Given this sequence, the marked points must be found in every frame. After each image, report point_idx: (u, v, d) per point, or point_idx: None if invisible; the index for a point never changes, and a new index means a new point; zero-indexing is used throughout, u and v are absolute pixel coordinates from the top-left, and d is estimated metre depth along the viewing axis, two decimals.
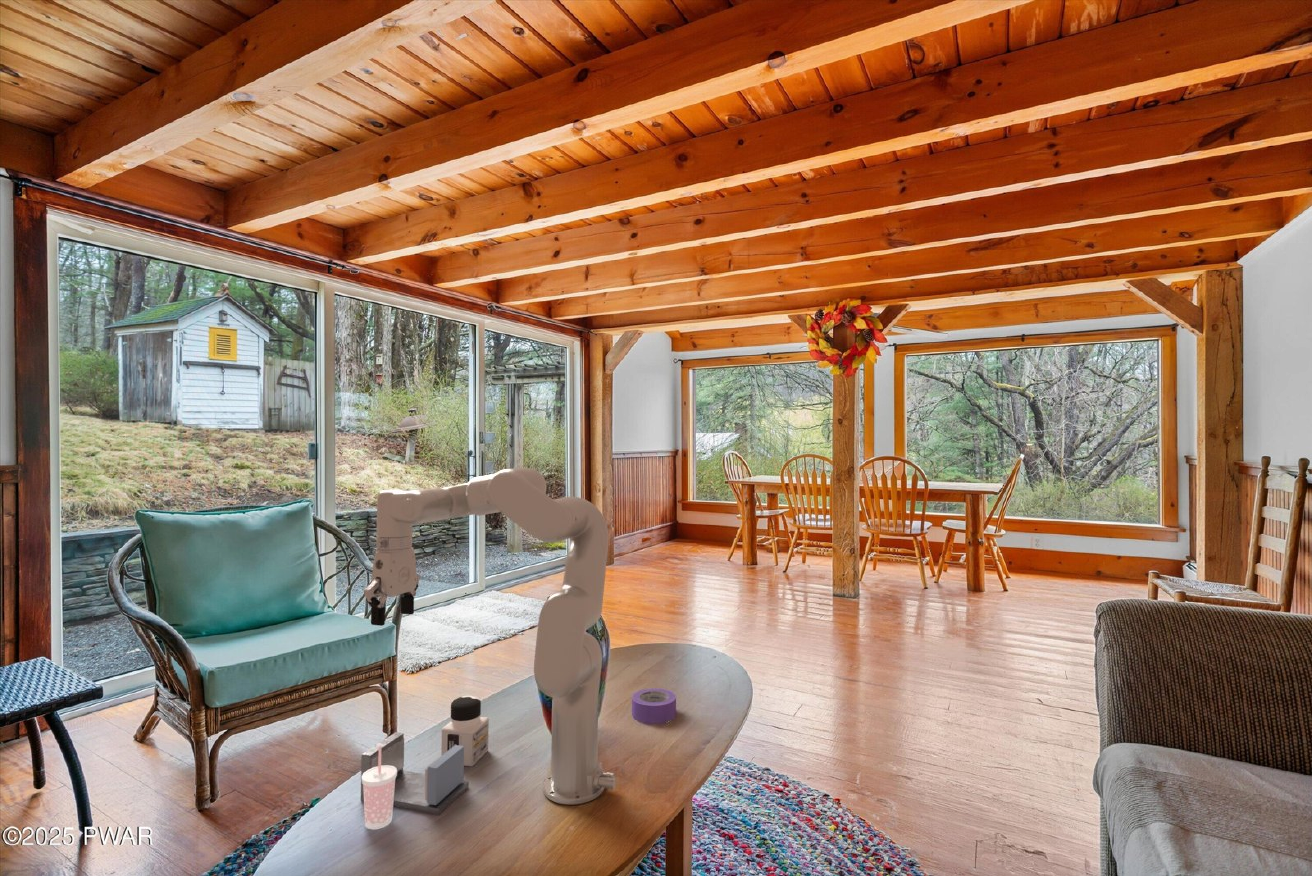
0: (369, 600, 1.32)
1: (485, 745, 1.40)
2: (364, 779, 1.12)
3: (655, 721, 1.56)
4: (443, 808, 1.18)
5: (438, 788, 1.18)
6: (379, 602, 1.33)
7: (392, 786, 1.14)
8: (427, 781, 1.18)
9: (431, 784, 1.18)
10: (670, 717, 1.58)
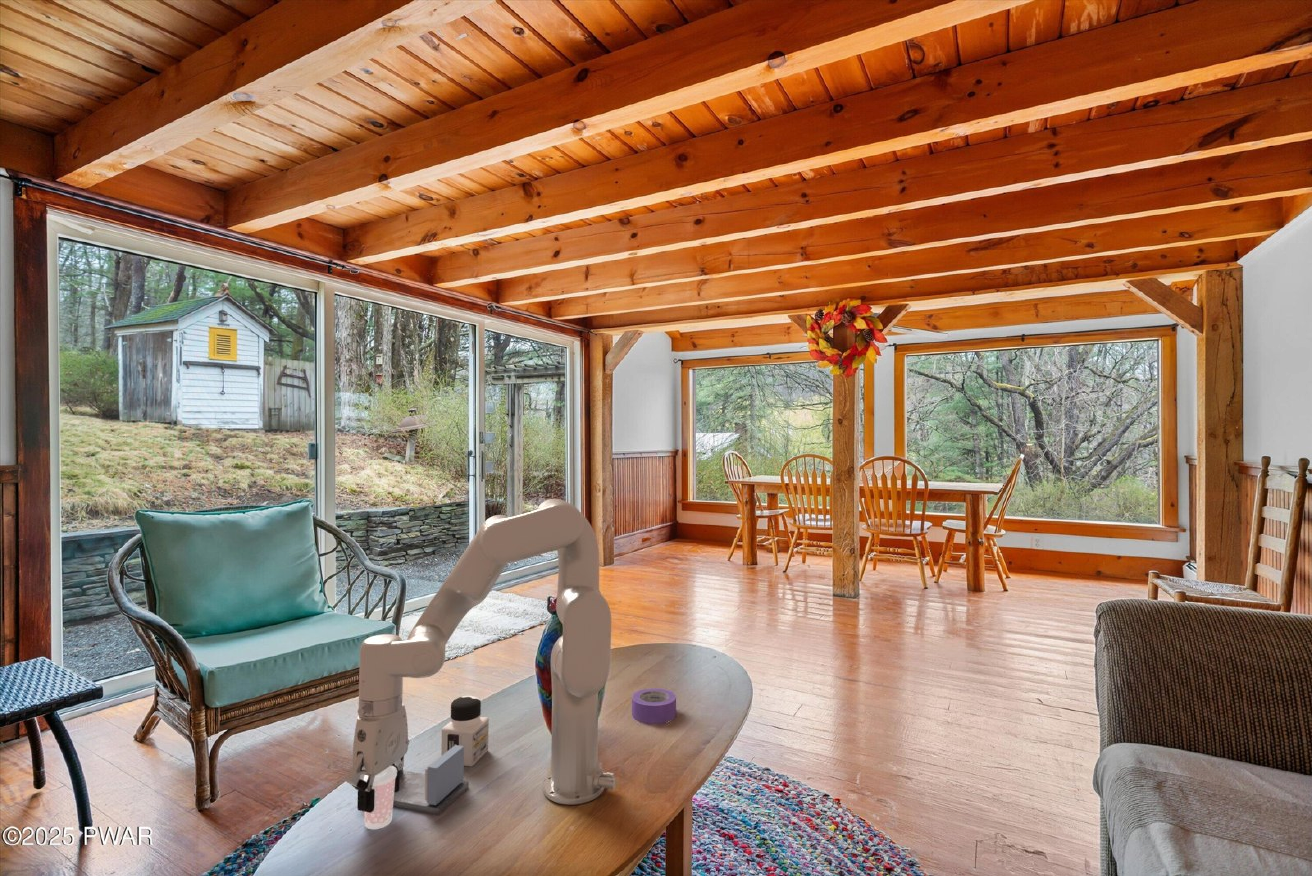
0: (355, 786, 1.09)
1: (485, 745, 1.40)
2: (364, 779, 1.13)
3: (655, 721, 1.56)
4: (443, 808, 1.18)
5: (438, 788, 1.18)
6: (367, 786, 1.10)
7: (392, 786, 1.14)
8: (427, 781, 1.18)
9: (431, 784, 1.18)
10: (670, 717, 1.58)
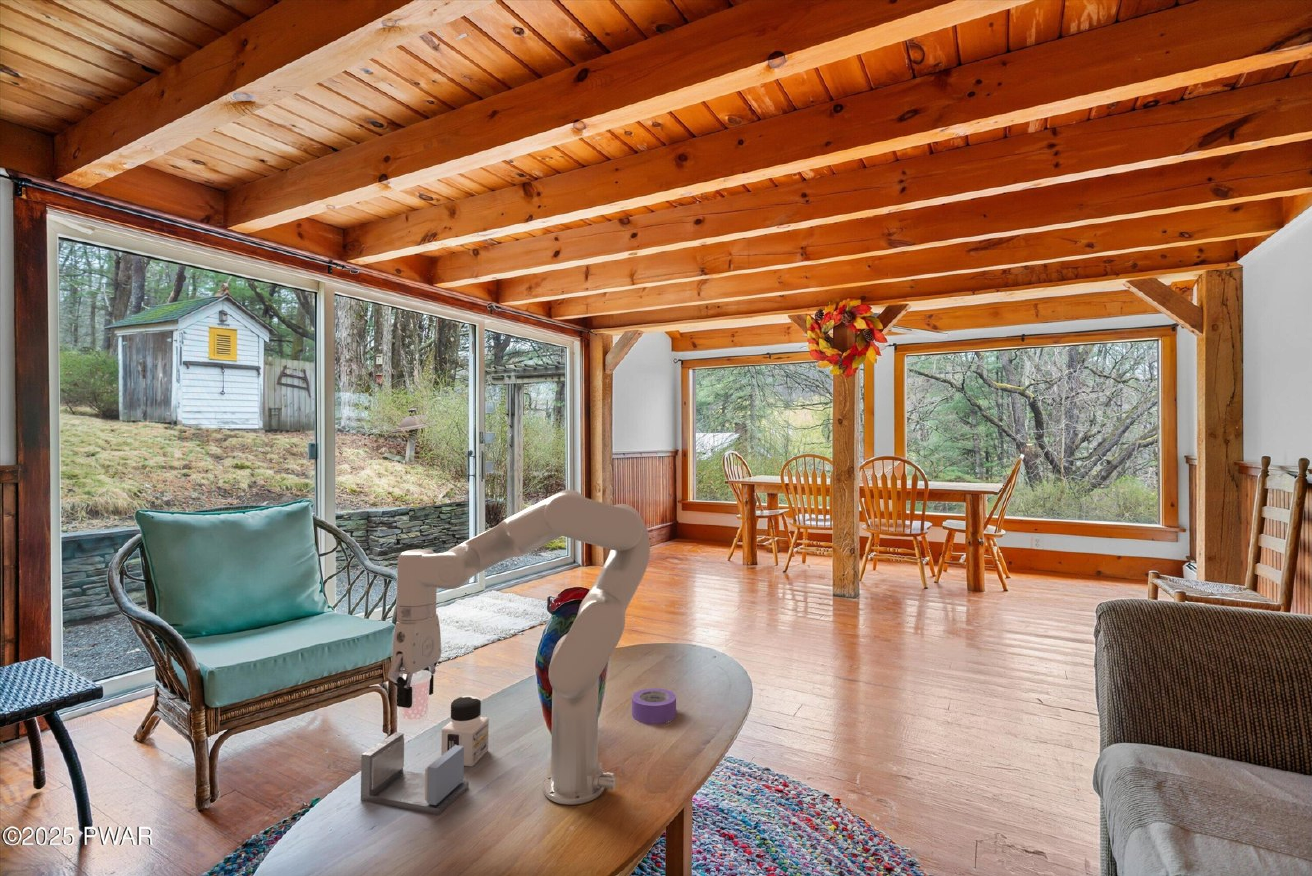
0: (395, 682, 1.19)
1: (485, 745, 1.40)
2: None
3: (655, 721, 1.56)
4: (443, 808, 1.18)
5: (438, 788, 1.18)
6: (406, 683, 1.20)
7: (427, 686, 1.24)
8: (427, 781, 1.18)
9: (431, 784, 1.18)
10: (670, 717, 1.58)
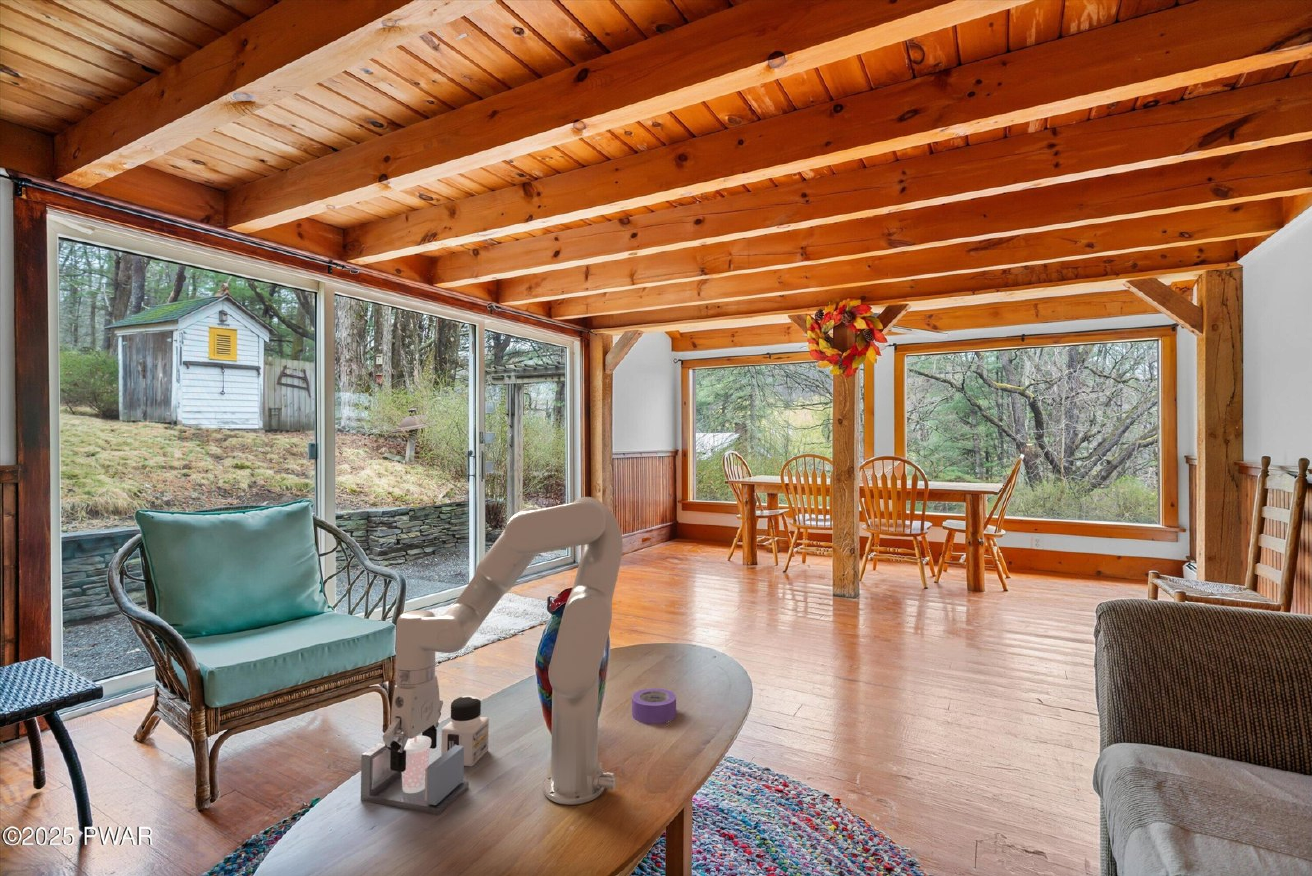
0: (389, 746, 1.17)
1: (485, 745, 1.40)
2: None
3: (655, 721, 1.56)
4: (443, 808, 1.18)
5: (438, 788, 1.18)
6: (400, 746, 1.18)
7: (427, 754, 1.24)
8: (427, 781, 1.18)
9: (431, 784, 1.18)
10: (670, 717, 1.58)
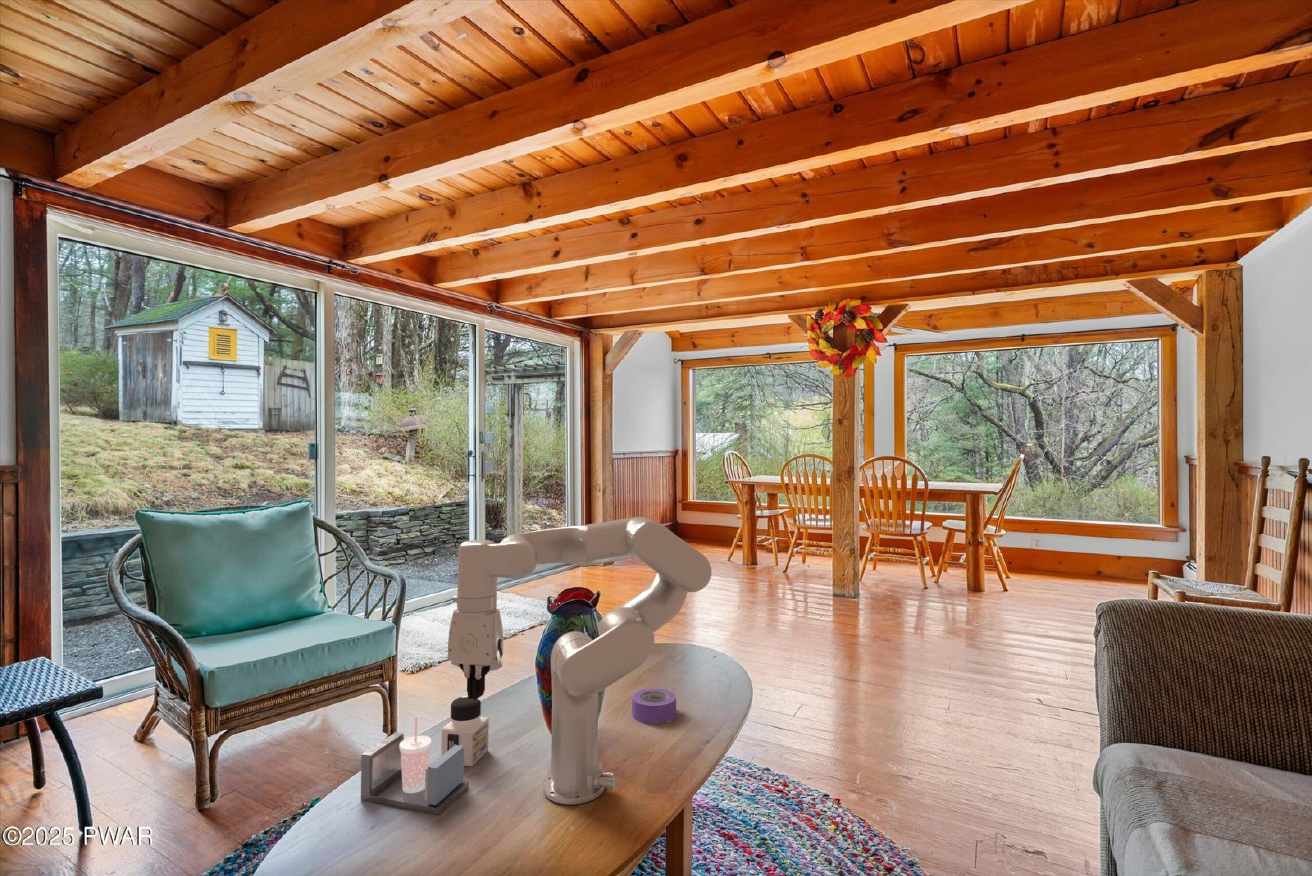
0: None
1: (485, 745, 1.40)
2: (402, 747, 1.22)
3: (655, 721, 1.56)
4: (443, 808, 1.18)
5: (438, 788, 1.18)
6: None
7: (427, 754, 1.24)
8: (427, 781, 1.18)
9: (431, 784, 1.18)
10: (670, 717, 1.58)
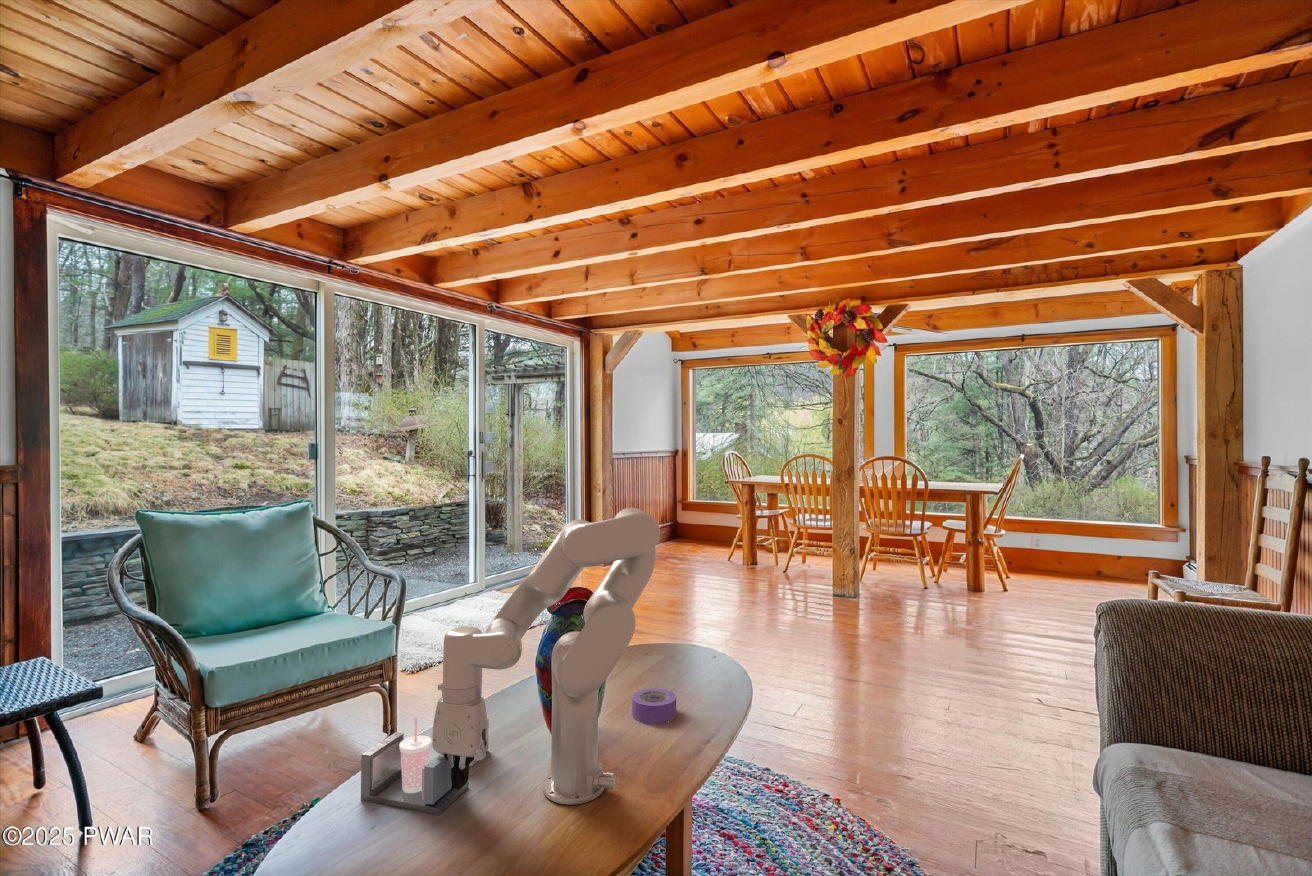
0: None
1: None
2: (402, 747, 1.22)
3: (655, 721, 1.56)
4: (443, 808, 1.18)
5: (434, 787, 1.18)
6: None
7: (427, 754, 1.24)
8: (424, 780, 1.18)
9: (427, 783, 1.18)
10: (670, 717, 1.58)
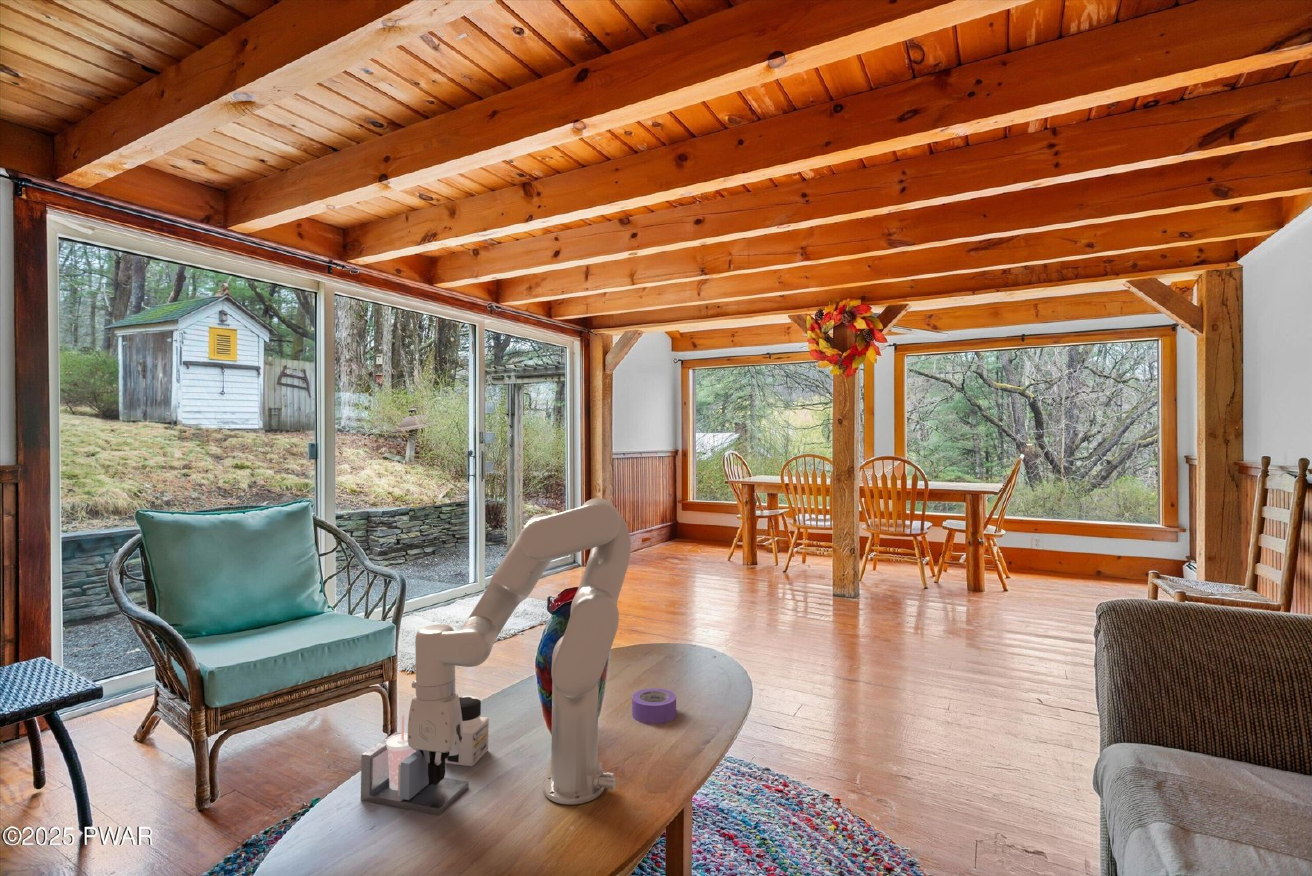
0: None
1: (485, 745, 1.40)
2: (388, 744, 1.23)
3: (655, 721, 1.56)
4: (443, 808, 1.18)
5: (411, 783, 1.20)
6: None
7: None
8: (400, 776, 1.20)
9: (404, 779, 1.19)
10: (670, 717, 1.58)
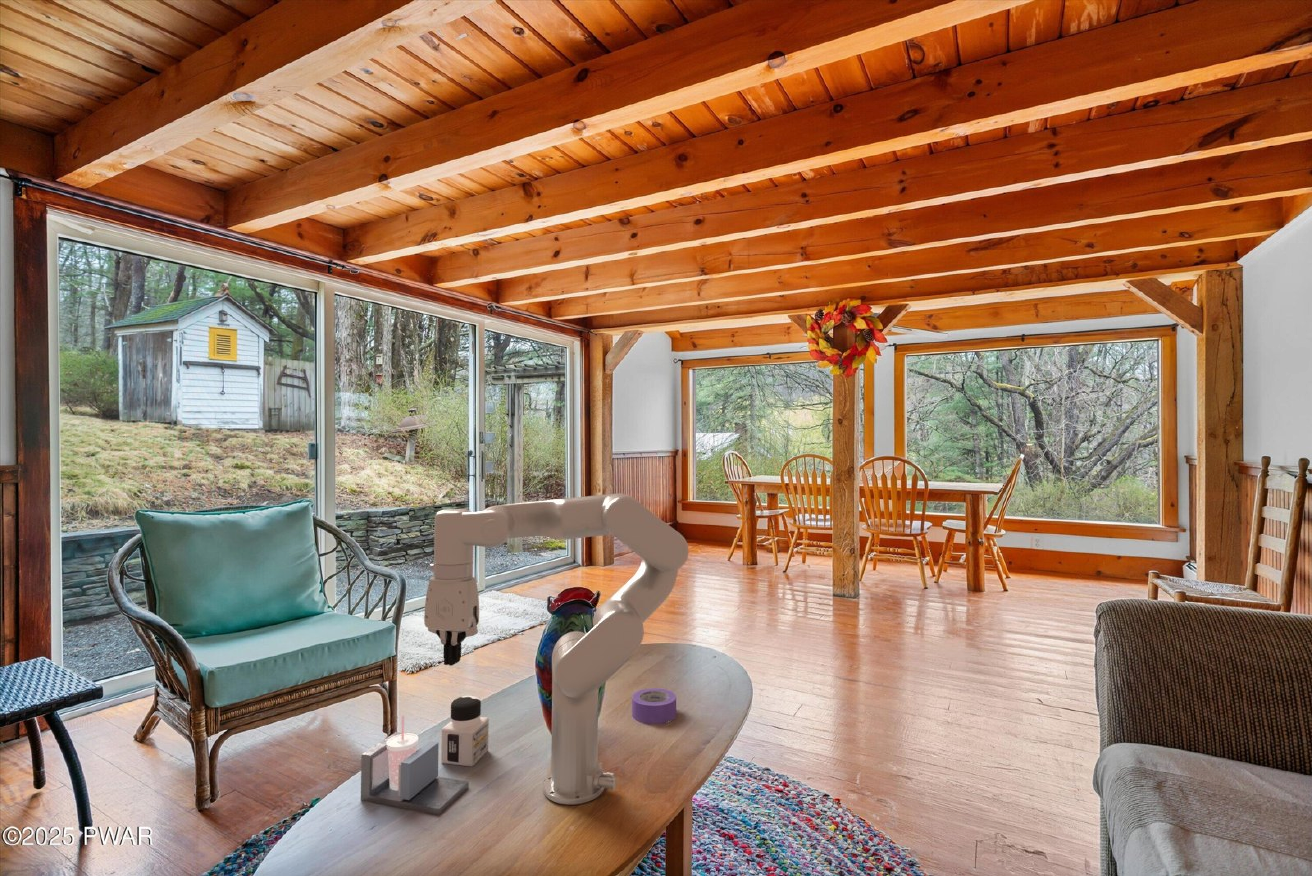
0: None
1: (485, 745, 1.40)
2: (388, 744, 1.23)
3: (655, 721, 1.56)
4: (443, 808, 1.18)
5: (411, 783, 1.20)
6: None
7: (414, 752, 1.25)
8: (400, 776, 1.20)
9: (404, 779, 1.19)
10: (670, 717, 1.58)
